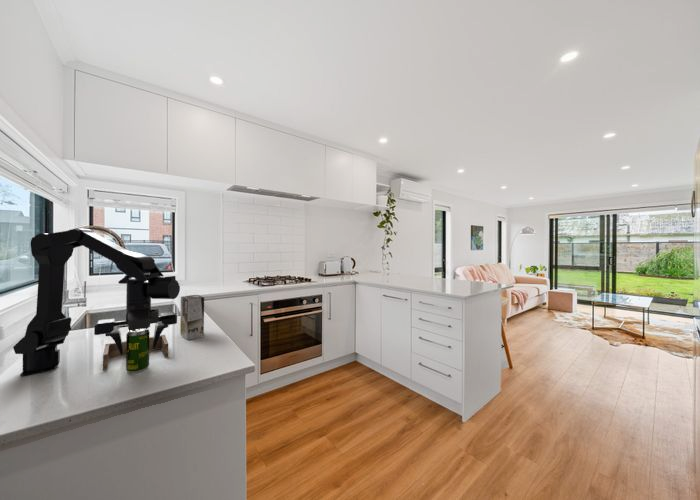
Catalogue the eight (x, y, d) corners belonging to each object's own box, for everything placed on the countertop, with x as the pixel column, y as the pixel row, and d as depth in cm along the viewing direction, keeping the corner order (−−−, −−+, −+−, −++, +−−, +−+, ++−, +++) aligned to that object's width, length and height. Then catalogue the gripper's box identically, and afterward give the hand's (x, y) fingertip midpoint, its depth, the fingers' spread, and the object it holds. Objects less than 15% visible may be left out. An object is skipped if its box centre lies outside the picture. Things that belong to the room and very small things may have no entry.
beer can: (135, 365, 82) (135, 326, 82) (153, 365, 82) (153, 326, 82) (120, 374, 77) (121, 332, 77) (140, 374, 77) (140, 332, 77)
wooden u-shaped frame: (102, 369, 79) (103, 355, 79) (105, 357, 87) (105, 344, 87) (168, 356, 89) (168, 343, 89) (164, 346, 98) (164, 334, 98)
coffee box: (204, 336, 109) (205, 297, 109) (186, 340, 105) (187, 299, 105) (196, 331, 116) (197, 294, 116) (179, 334, 111) (180, 296, 111)
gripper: (92, 307, 67) (91, 369, 67) (180, 299, 79) (179, 352, 79) (96, 300, 76) (95, 355, 76) (174, 294, 88) (174, 341, 88)
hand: (138, 351), depth 79 cm, fingers open, 7 cm apart
